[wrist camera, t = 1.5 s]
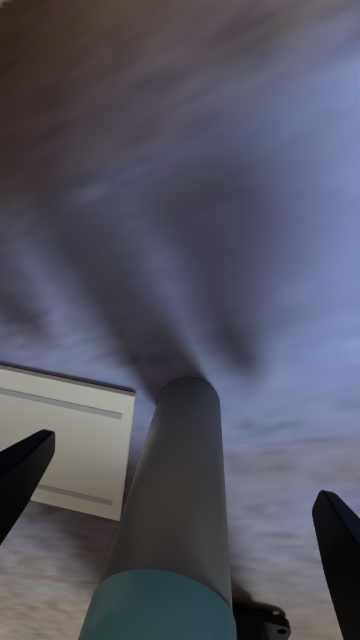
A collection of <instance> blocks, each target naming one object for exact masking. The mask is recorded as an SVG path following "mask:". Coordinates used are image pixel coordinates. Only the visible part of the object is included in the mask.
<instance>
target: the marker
mask: <svg viewBox="0 0 360 640" xmlns="http://www.w3.org/2000/svg"><path fill="white" fill-rule="evenodd" d="M78 640H237V633H236V623H235V619H234V616H233V611H232V594H231V578H230V561H229V544H228V528H227V511H226V494H225V478H224V461H223V445H222V428H221V411H220V400H219V396H218V394H217V392H216V391H215V389H214V388H213V387H212V386H211V385H210V384H208V383H207V382H205V381H203V380H201V379H199V378H195V377H181V378H177V379H175V380H173V381H171V382H169V383H168V384H167V385H166V386H165V387H164V388H163V390H162V392H161V394H160V397H159V401H158V404H157V407H156V410H155V413H154V416H153V419H152V422H151V425H150V428H149V431H148V435H147V438H146V441H145V444H144V447H143V450H142V453H141V456H140V459H139V462H138V465H137V468H136V472H135V475H134V478H133V481H132V484H131V487H130V490H129V493H128V496H127V499H126V502H125V506H124V509H123V512H122V515H121V518H120V521H119V524H118V527H117V530H116V533H115V536H114V540H113V543H112V546H111V549H110V552H109V555H108V558H107V561H106V564H105V567H104V570H103V573H102V577H101V580H100V583H99V585H98V587H97V588H96V590H95V592H94V594H93V596H92V599H91V602H90V605H89V608H88V611H87V614H86V617H85V620H84V623H83V626H82V629H81V632H80V635H79V638H78Z"/></svg>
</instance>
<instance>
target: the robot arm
mask: <svg viewBox="0 0 360 640" xmlns="http://www.w3.org/2000/svg"><path fill="white" fill-rule="evenodd" d="M54 453H55V432H54V431H51V430H47V429H42V430H40V431H38V432H36V433H34V434H32V435H30V436H28V437H26V438H24V439H23V440H21V441H19V442H17V443H15V444H13V445H11V446H9V447H7V448H6V449H4V450H2V451H0V545H1V544H2V542H3V541H4V539H5V538H6V536H7V535H8V533H9V531H10V530H11V528H12V527H13V525H14V524H15V522H16V521H17V519H18V518H19V516H20V515H21V513H22V512H23V510H24V509H25V507H26V506H27V504H28V502H29V500H30V499H31V497H32V495H33V493H34V491H35V490H36V488H37V486H38V484H39V482H40V480H41V478H42V477H43V475H44V473H45V471H46V469H47V467H48V465H49V464H50V462H51V460H52V458H53V456H54ZM312 517H313V522H314V526H315V531H316V536H317V541H318V546H319V551H320V556H321V561H322V565H323V570H324V574H325V578H326V581H327V585H328V588H329V592H330V595H331V599H332V602H333V605H334V609H335V612H336V616H337V619H338V622H339V626H340V629H341V633H342V636H343V639H344V640H360V518H359V517H358V516H357V515H356V514H355V513H354V512H353V511H352V510H351V509H350V508H349V507H348V506H347V505H346V504H345V503H344V502H343V501H342V499H341V498H340V497H339V496H338V495H337V494H335V493H333V492H330V491H325V490H321V491H320V492H319V494H318V496H317V498H316V501H315V503H314V505H313V508H312ZM232 611H233V616H234V619H235V623H236V633H237V640H288V638H289V636H290V634H291V630H290V625H289V621H288V620H287V619H286V618H284V617H281V616H277V615H272V614H268V613H264V612H260V611H256V610H252V609H248V608H244V607H240V606H236V605H232Z"/></svg>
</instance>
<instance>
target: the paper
mask: <svg viewBox="0 0 360 640" xmlns="http://www.w3.org/2000/svg"><path fill="white" fill-rule="evenodd" d="M136 394H137V393H133V392H128V391H123V390H119V389H114V388H109V387H104V386H99V385H94V384H90V383H85V382H80V381H75V380H70V379H65V378H60V377H56V376H51V375H46V374H41V373H36V372H31V371H27V370H22V369H17V368H12V367H7V366H2V365H0V451H2V450H4V449H6V448H7V447H9V446H11V445H13V444H15V443H17V442H19V441H21V440H23V439H24V438H26V437H28V436H30V435H32V434H34V433H36V432H38V431H40V430H42V429H47V430H51V431H54V432H55V453H54V456H53V458H52V460H51V462H50V464H49V465H48V467H47V469H46V471H45V473H44V475H43V477H42V478H41V480H40V482H39V484H38V486H37V488H36V490H35V491H34V493H33V495H32V497H31V499H30V500H32V501H36V502H41V503H45V504H49V505H53V506H58V507H62V508H66V509H70V510H74V511H79V512H83V513H87V514H91V515H96V516H100V517H104V518H108V519H113V520H117V521H119V520H120V517H121V512H122V504H123V496H124V488H125V480H126V472H127V464H128V457H129V449H130V441H131V433H132V425H133V417H134V409H135V401H136Z"/></svg>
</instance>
